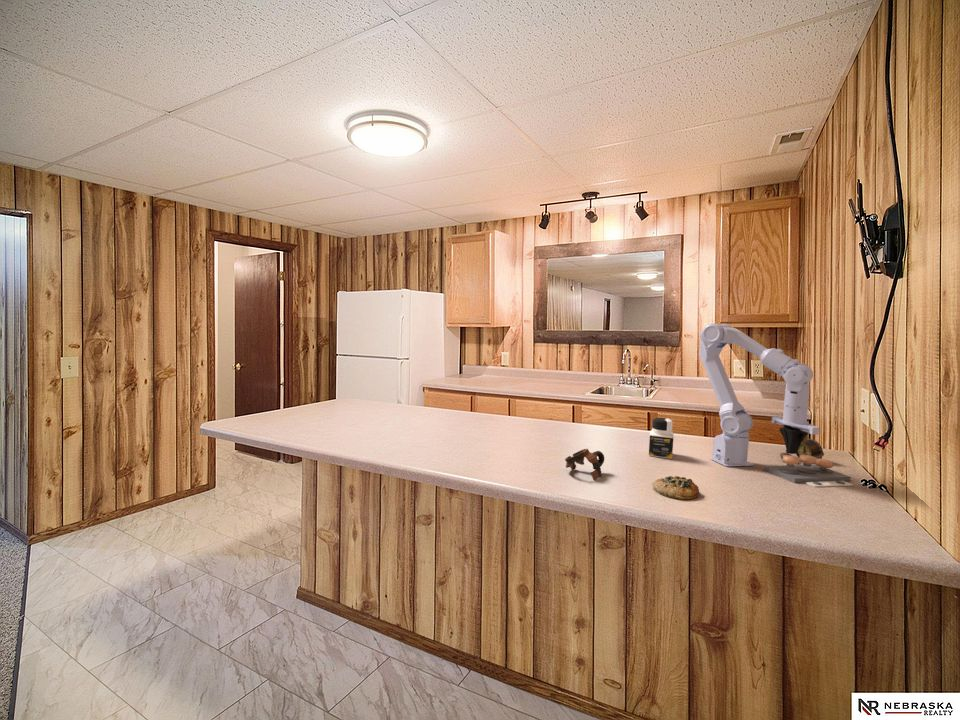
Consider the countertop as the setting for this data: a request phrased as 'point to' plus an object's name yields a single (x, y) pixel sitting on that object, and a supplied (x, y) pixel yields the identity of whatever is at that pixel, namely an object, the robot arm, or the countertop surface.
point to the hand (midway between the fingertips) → (791, 453)
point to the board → (806, 473)
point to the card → (829, 483)
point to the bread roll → (676, 487)
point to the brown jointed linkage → (591, 457)
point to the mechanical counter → (808, 449)
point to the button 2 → (823, 464)
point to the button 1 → (791, 460)
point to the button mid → (807, 460)
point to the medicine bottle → (661, 438)
